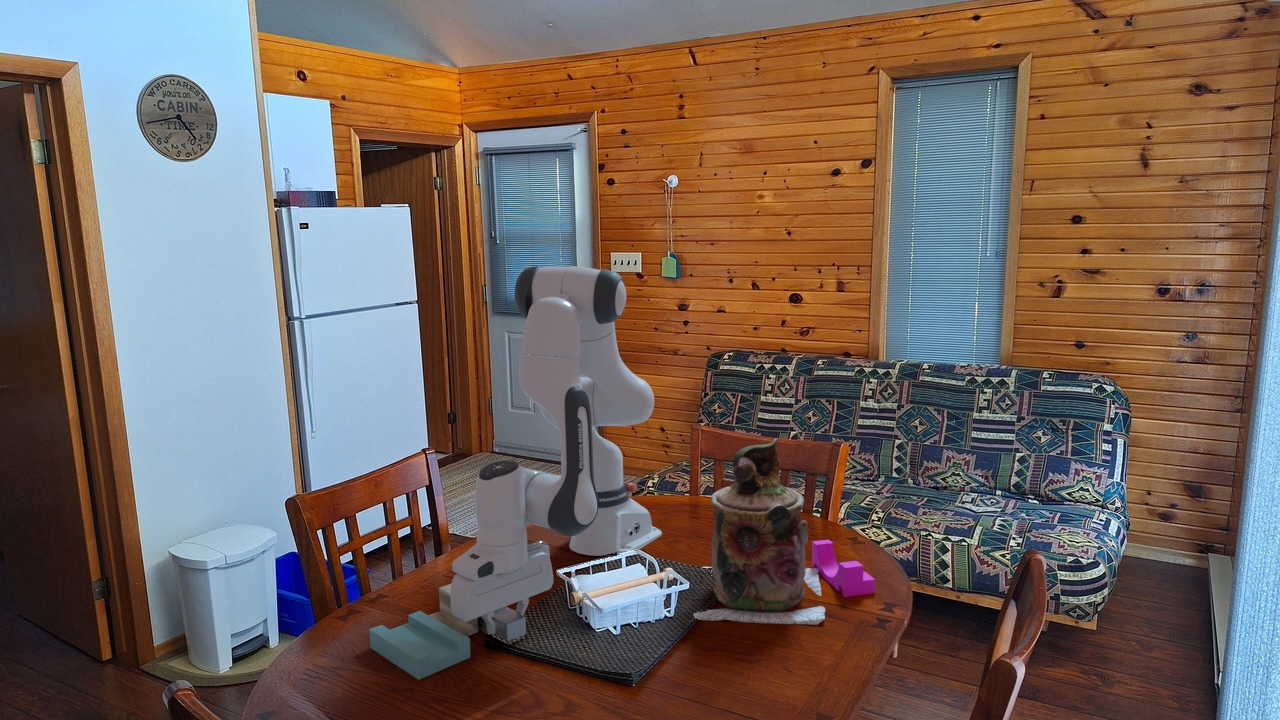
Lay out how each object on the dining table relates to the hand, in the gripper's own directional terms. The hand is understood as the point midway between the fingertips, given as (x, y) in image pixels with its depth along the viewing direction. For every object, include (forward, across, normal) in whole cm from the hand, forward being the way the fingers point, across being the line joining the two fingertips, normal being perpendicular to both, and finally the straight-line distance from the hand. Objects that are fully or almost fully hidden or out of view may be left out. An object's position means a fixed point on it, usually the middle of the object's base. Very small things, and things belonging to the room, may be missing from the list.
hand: (505, 627), depth 149 cm
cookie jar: (+2, -43, +24) cm, 49 cm away
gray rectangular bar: (+2, 0, -8) cm, 8 cm away
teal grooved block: (+2, +14, -6) cm, 15 cm away
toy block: (+2, -59, +33) cm, 68 cm away
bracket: (+2, 0, -11) cm, 11 cm away
